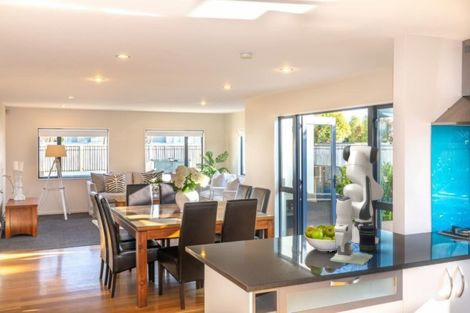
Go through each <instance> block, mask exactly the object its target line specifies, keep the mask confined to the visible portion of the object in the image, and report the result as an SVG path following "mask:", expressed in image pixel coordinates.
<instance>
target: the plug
mask: <svg viewBox="0 0 470 313" xmlns="http://www.w3.org/2000/svg"><path fill="white" fill-rule="evenodd" d="M344 249H345V252H341V247H340V246H337V250H338V255H347V256H350V255H351V249H352V243H351V242H349V243H346V244H345V246H344Z"/></svg>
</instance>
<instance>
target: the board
mask: <svg viewBox="0 0 470 313" xmlns="http://www.w3.org/2000/svg"><path fill="white" fill-rule="evenodd" d="M372 258H373V255H372V254H369V253H360V252H359V253H357V252H354V250H353V249H352V248H351V255H350V256H347V255H338V249H337V251H336V253H335V254H334V255H333V256H332V257H331V258H330V259H329V260H330V261H331V262H337V263H344V264H352V265H353V264H354V265H362V266H363V265H365V264H366V263H367V262H369V259H370V260H371V259H372Z"/></svg>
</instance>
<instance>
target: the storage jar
mask: <svg viewBox="0 0 470 313" xmlns="http://www.w3.org/2000/svg"><path fill="white" fill-rule="evenodd" d="M376 229H377V228H376V226H374V225H373V226H368V225H363V226H359V240H360V242H359V244H358V251H359V253H361V254H374V253H376V252H377V249H376V248H377V246H376V245H377V244H376V243H375V236H376V234H377V231H376ZM376 237H377V236H376Z"/></svg>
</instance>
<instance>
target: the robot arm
mask: <svg viewBox="0 0 470 313" xmlns="http://www.w3.org/2000/svg"><path fill="white" fill-rule="evenodd" d="M341 155H342V159H343V161H344V162H347V163H346V169H345V175H346V178H347V179H348V180H349V181H350V182H352V183H349V184H345V186H344V187H343V189H342V194H343V196H339V197H337V200H336V204H335V214H336V215H335V216H336V220H335V226H334V227H333V231H334V232H335V233H334V236H335V243H336V244H335V246H337V247H338V246H340V247H341V252H345V249H344V246H345V244H346V243H350V242H352V243H354V244H358V245H359V242H360V240H359V226H363V225H368V226H374V222H373V216H374V209H373V207H374V206H373V201H377V200H378V201H379V200H381V199H382V198H383V196H384V195H385V194H384V193H385V191H384V188H383V186H382V185H381V184H379V183H378V182H377V181H376V180H375V178H374V176H373V164H376V163H377V162H378V161H379V159H380V151H379V148H378V147H376V146H369V145H363V144H362V145H346V146H344V148H343V149H342V154H341ZM353 220H354V221H353ZM353 226H354V227H353ZM375 243H376V245H378V244H379V237H377V236H375Z"/></svg>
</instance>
